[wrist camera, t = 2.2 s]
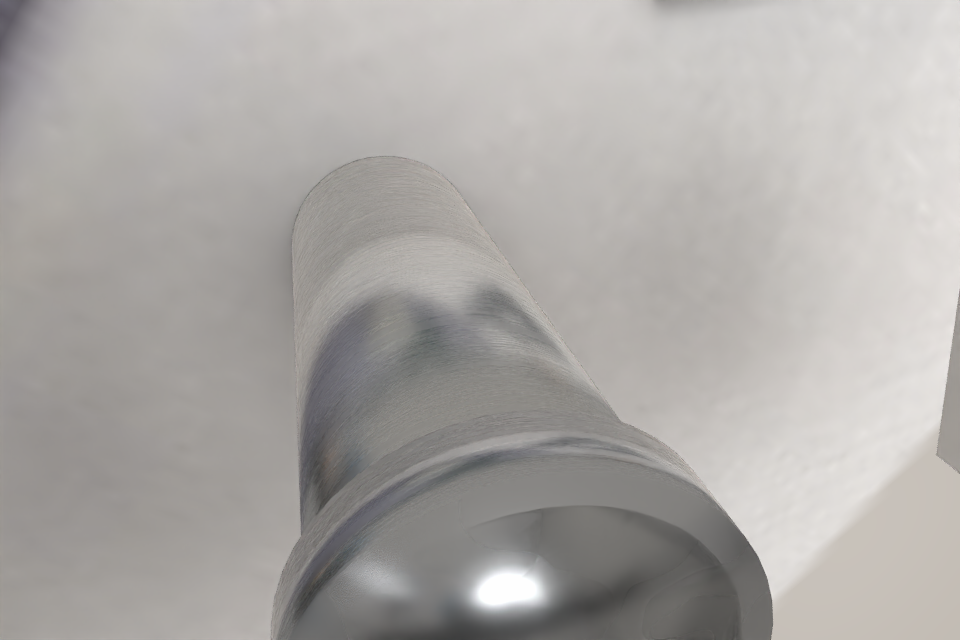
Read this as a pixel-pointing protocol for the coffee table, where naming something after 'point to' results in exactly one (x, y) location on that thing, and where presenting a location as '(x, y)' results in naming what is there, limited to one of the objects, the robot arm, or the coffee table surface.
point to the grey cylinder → (476, 450)
